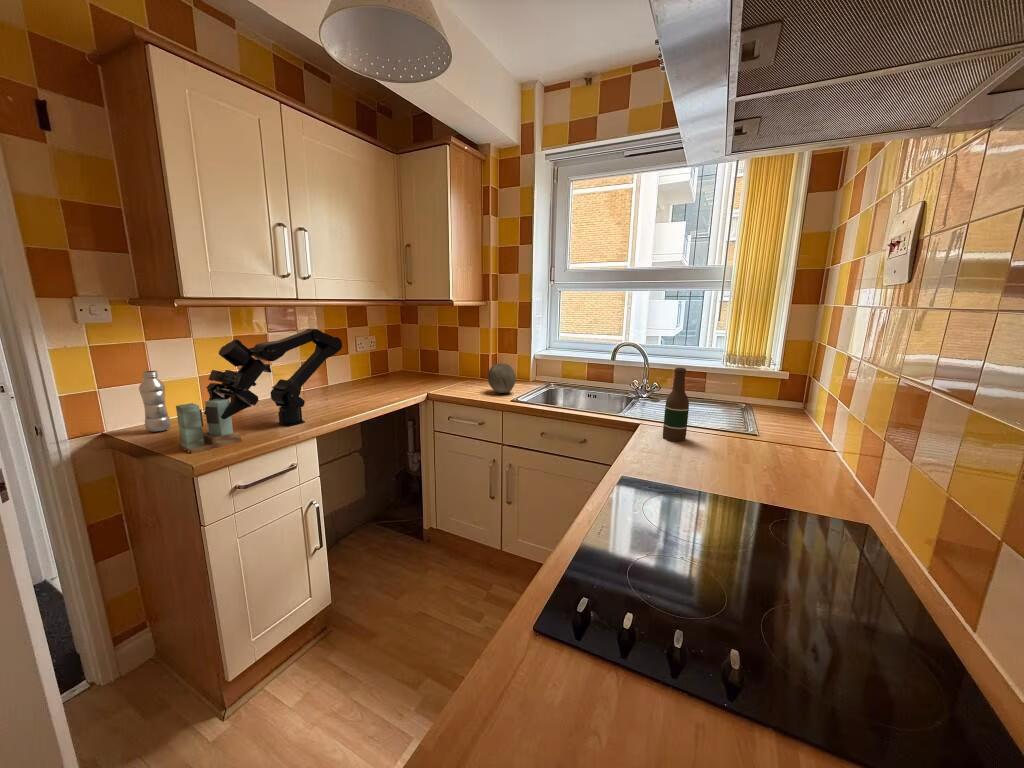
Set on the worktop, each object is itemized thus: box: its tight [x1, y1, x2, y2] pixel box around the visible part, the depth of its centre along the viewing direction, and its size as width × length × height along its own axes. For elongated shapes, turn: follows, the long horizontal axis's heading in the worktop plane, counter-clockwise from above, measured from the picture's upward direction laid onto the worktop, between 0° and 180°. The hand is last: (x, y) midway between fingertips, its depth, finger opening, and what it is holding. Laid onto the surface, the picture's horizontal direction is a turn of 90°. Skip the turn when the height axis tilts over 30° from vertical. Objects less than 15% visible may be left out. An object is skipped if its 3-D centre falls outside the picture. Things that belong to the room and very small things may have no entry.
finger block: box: [204, 399, 234, 437], centre depth 125 cm, size 5×4×12 cm
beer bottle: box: [662, 367, 690, 443], centre depth 135 cm, size 8×8×24 cm
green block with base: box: [175, 402, 242, 454], centre depth 123 cm, size 13×9×13 cm
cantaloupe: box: [487, 363, 516, 394], centre depth 200 cm, size 14×14×15 cm
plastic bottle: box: [138, 370, 171, 433], centre depth 133 cm, size 6×7×20 cm
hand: (213, 416), depth 123 cm, fingers open, 9 cm apart
